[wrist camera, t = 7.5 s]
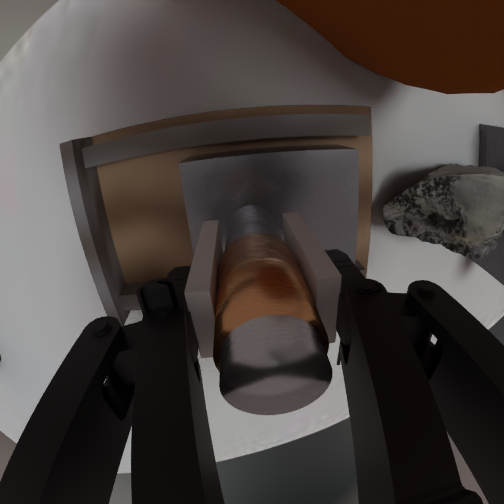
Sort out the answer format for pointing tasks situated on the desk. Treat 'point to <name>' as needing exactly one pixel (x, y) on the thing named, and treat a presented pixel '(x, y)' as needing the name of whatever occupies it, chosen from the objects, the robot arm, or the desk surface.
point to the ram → (271, 264)
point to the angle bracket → (500, 157)
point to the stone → (452, 209)
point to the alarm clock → (416, 39)
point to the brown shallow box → (170, 186)
